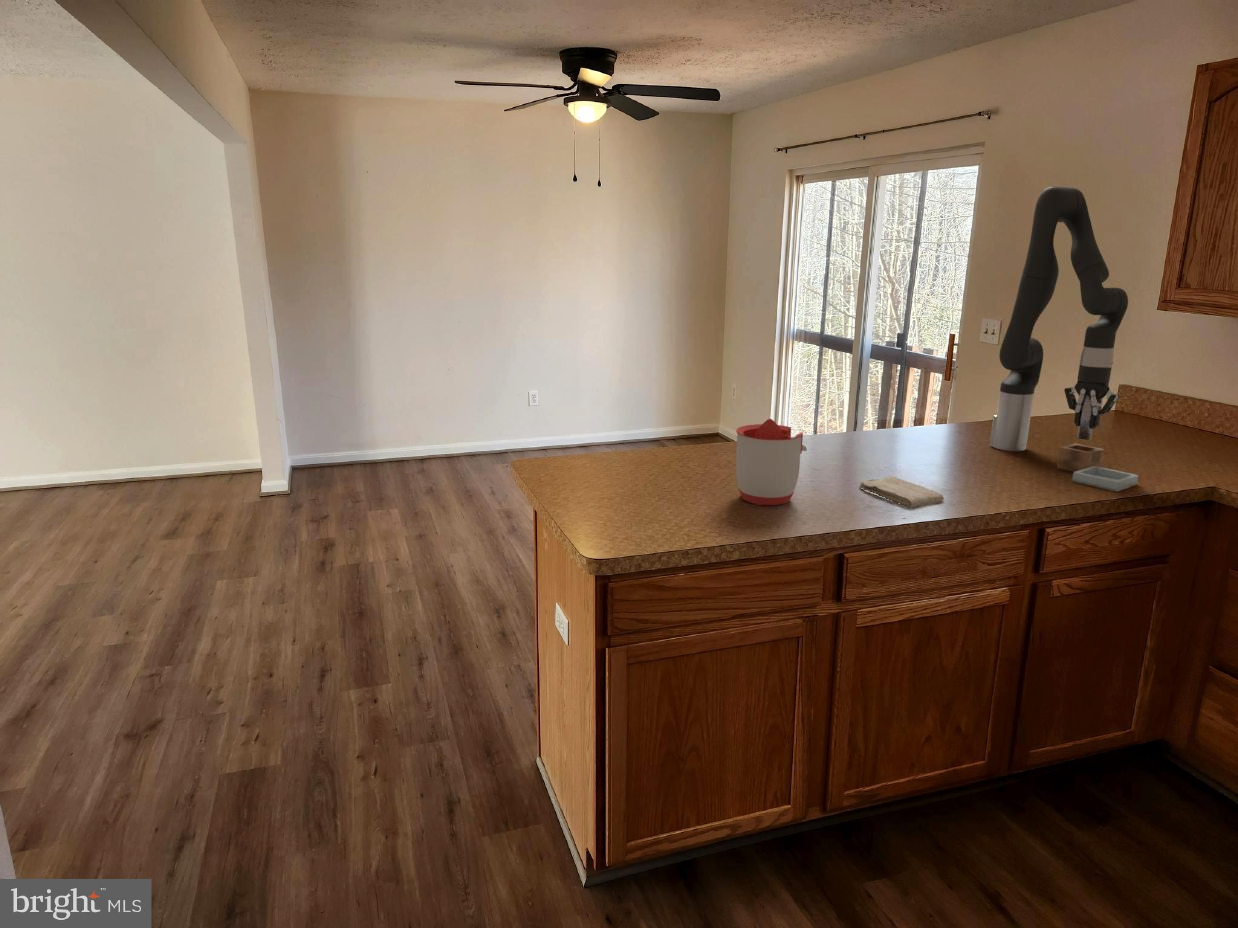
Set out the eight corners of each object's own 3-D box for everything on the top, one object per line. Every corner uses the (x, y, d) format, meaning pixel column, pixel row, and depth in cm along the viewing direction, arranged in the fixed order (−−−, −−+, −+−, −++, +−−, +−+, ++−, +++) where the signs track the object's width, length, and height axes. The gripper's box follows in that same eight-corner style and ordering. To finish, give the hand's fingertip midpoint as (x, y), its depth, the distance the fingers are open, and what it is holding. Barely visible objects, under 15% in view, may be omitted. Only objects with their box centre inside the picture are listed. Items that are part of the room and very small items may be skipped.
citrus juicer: (817, 505, 192) (823, 423, 187) (750, 512, 187) (754, 427, 182) (785, 486, 206) (790, 410, 201) (722, 492, 202) (726, 413, 196)
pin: (1075, 437, 222) (1081, 394, 219) (1080, 436, 224) (1087, 393, 221) (1087, 440, 219) (1094, 396, 216) (1092, 438, 221) (1099, 395, 218)
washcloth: (889, 484, 211) (890, 472, 210) (945, 503, 196) (947, 491, 195) (855, 490, 205) (856, 478, 205) (910, 510, 190) (912, 498, 189)
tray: (1072, 481, 213) (1073, 472, 212) (1092, 474, 219) (1094, 465, 218) (1116, 491, 204) (1118, 482, 203) (1136, 484, 210) (1138, 475, 209)
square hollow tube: (1056, 468, 225) (1059, 447, 223) (1071, 463, 229) (1074, 443, 228) (1086, 474, 219) (1089, 453, 217) (1100, 470, 223) (1104, 449, 221)
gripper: (1062, 362, 220) (1052, 424, 224) (1117, 368, 209) (1106, 433, 213) (1075, 360, 224) (1066, 421, 228) (1130, 366, 213) (1119, 430, 217)
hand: (1085, 426), depth 221 cm, fingers closed on pin, 3 cm apart
